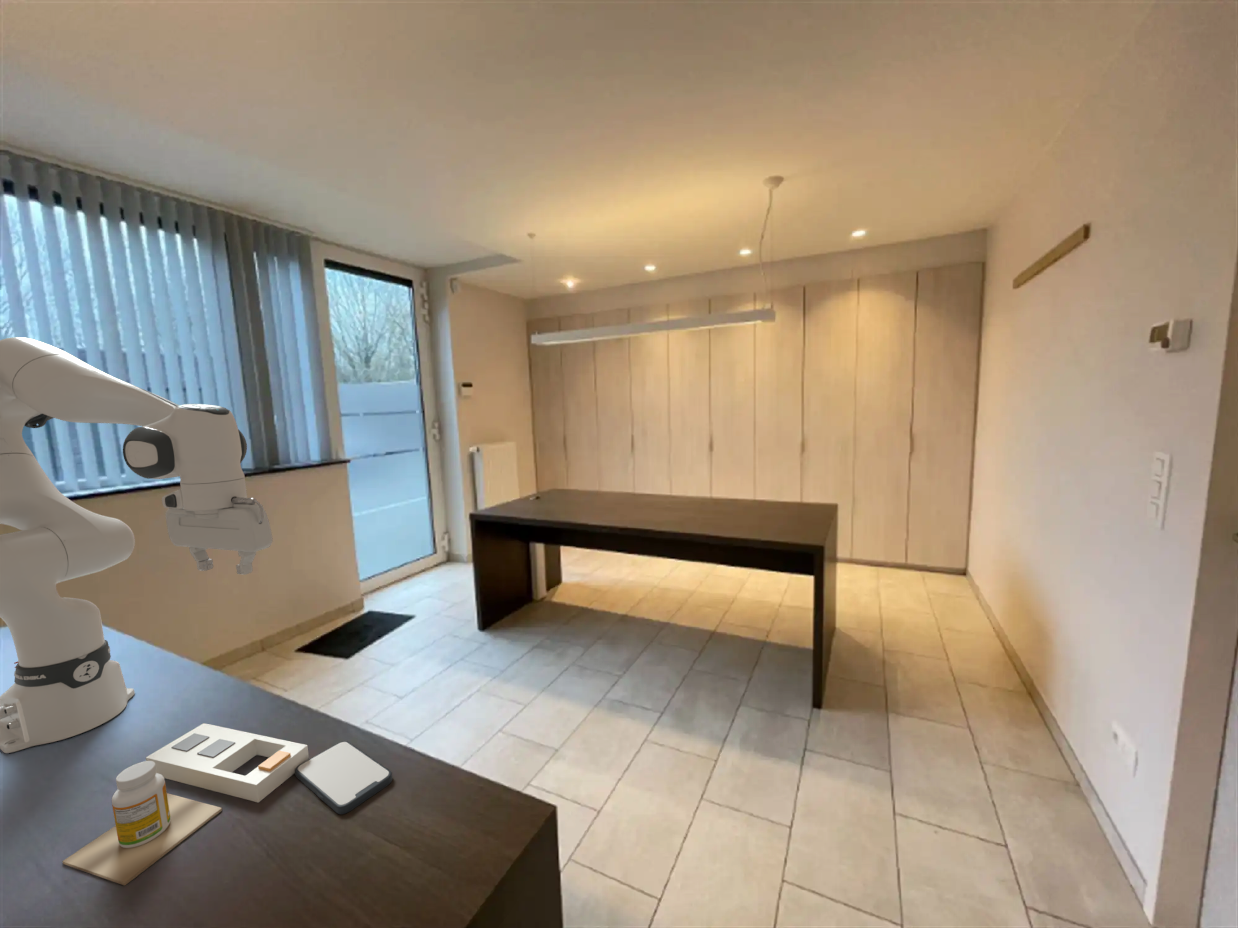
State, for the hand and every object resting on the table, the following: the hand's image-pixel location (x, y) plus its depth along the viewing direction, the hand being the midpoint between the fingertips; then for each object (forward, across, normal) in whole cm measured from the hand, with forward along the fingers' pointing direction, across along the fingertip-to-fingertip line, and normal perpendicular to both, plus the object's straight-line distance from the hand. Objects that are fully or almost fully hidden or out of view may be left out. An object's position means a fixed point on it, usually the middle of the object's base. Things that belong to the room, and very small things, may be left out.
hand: (225, 571), depth 88 cm
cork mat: (+31, -9, +21) cm, 39 cm away
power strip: (+31, -7, +8) cm, 33 cm away
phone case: (+32, -28, +5) cm, 42 cm away
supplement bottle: (+31, -9, +21) cm, 38 cm away
